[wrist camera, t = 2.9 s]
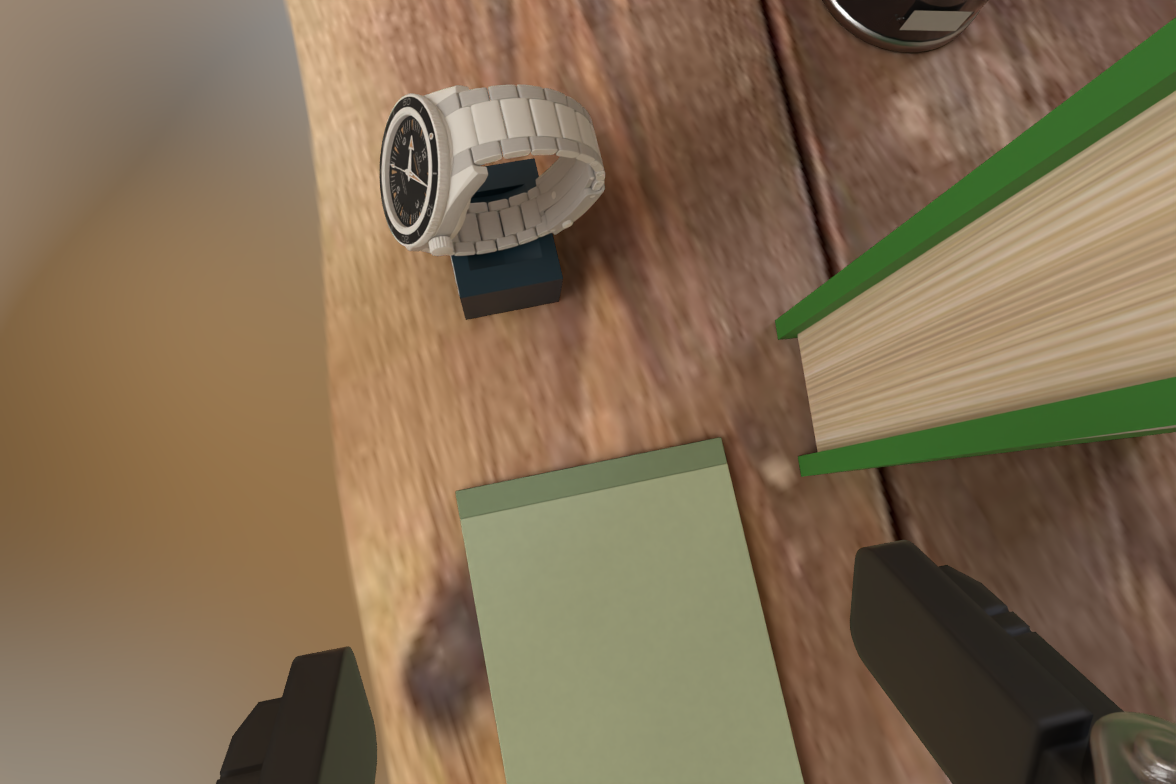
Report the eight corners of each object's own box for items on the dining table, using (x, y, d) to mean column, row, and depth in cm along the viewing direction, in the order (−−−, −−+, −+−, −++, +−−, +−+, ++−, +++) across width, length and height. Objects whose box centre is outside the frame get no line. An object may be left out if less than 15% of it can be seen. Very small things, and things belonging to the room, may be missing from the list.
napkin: (455, 491, 30) (454, 491, 29) (718, 438, 31) (721, 436, 31) (545, 1001, 27) (546, 1008, 26) (832, 912, 28) (836, 918, 28)
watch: (399, 214, 32) (338, 59, 21) (569, 185, 33) (593, 24, 22) (422, 330, 31) (372, 230, 20) (596, 296, 32) (636, 184, 21)
